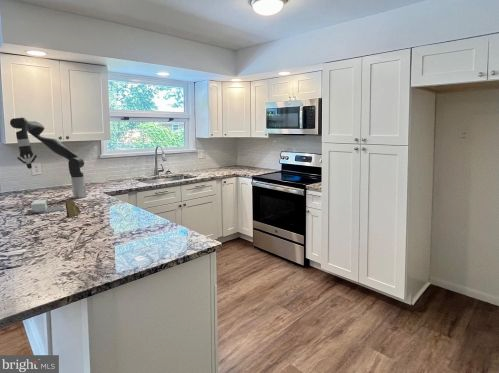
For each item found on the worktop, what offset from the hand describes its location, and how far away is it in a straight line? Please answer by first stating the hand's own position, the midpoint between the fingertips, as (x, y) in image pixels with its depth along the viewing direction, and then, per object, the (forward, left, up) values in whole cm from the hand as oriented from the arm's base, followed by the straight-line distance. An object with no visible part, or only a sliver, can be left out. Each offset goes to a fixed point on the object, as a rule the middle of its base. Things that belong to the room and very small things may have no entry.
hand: (29, 168), depth 248 cm
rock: (-13, +56, -28) cm, 64 cm away
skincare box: (-1, +18, -24) cm, 30 cm away
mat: (-4, +29, -28) cm, 40 cm away
